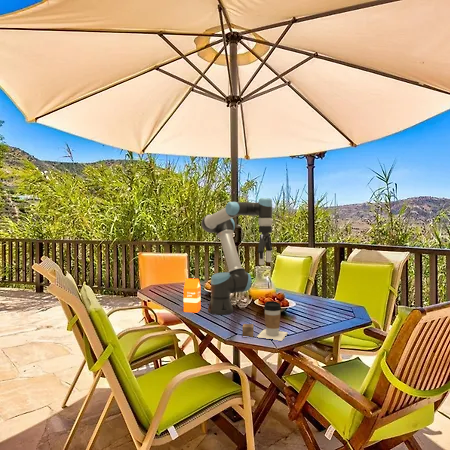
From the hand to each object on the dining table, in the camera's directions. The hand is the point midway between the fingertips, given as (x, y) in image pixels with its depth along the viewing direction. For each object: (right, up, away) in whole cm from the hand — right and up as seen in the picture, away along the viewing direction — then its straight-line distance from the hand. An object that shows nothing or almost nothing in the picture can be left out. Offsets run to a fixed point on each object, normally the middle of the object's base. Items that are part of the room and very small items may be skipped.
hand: (265, 263), depth 187 cm
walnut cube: (-12, -32, -26) cm, 43 cm away
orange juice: (-43, -32, +19) cm, 57 cm away
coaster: (0, -32, -27) cm, 42 cm away
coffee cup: (0, -31, -27) cm, 41 cm away
